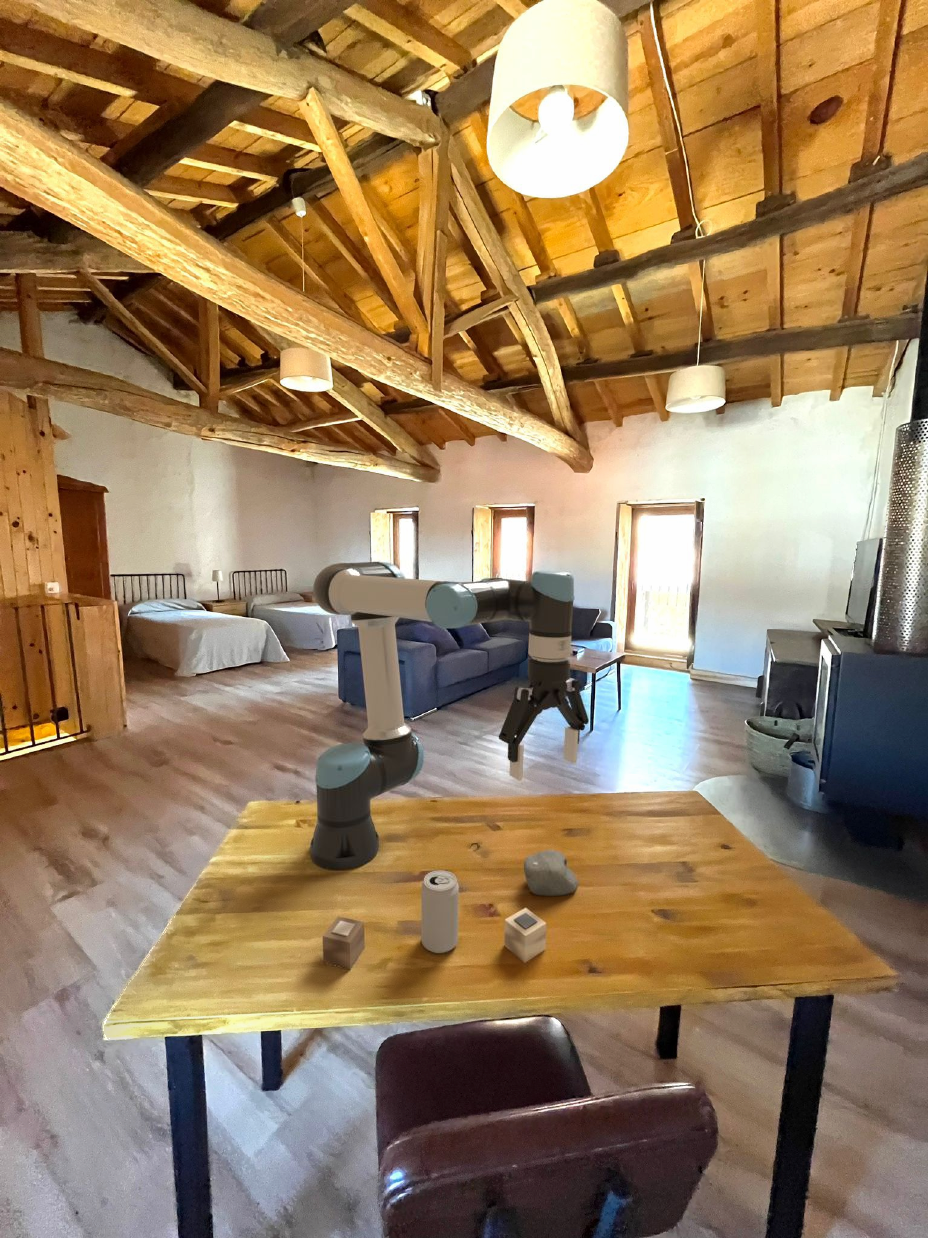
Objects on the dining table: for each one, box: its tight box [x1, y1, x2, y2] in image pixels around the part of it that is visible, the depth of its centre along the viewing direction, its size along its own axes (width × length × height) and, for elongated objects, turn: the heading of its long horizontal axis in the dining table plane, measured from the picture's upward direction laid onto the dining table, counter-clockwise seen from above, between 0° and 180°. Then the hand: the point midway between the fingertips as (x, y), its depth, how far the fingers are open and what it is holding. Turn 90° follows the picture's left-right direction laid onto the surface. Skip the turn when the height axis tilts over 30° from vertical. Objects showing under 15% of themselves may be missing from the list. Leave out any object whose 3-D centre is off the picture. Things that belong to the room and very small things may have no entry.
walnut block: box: [322, 915, 366, 971], centre depth 91 cm, size 5×5×5 cm
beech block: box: [503, 907, 547, 964], centre depth 93 cm, size 5×5×5 cm
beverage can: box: [420, 869, 460, 954], centre depth 93 cm, size 6×6×12 cm
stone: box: [523, 849, 579, 897], centre depth 110 cm, size 9×9×10 cm
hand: (543, 769), depth 100 cm, fingers open, 13 cm apart
